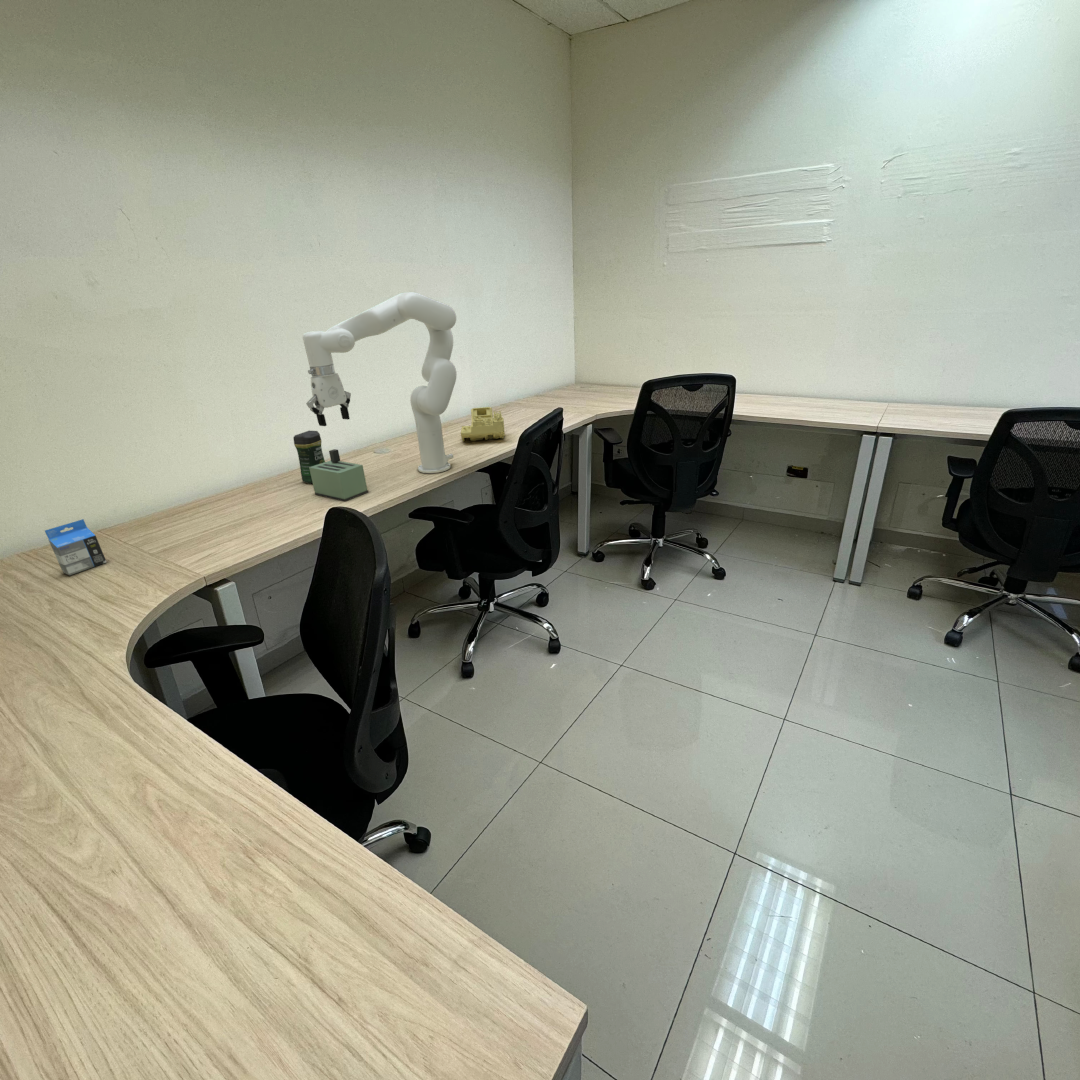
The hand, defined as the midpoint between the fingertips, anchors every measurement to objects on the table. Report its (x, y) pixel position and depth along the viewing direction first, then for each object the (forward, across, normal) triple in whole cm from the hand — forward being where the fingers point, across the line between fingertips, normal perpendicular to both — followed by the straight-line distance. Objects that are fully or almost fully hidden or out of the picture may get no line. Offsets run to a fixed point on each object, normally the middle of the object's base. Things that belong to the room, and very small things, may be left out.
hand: (334, 422), depth 190 cm
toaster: (+24, -6, -2) cm, 25 cm away
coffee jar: (+24, 0, +20) cm, 31 cm away
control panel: (+26, +76, -1) cm, 81 cm away
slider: (+13, -2, +1) cm, 14 cm away
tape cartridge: (+22, -78, +14) cm, 82 cm away
